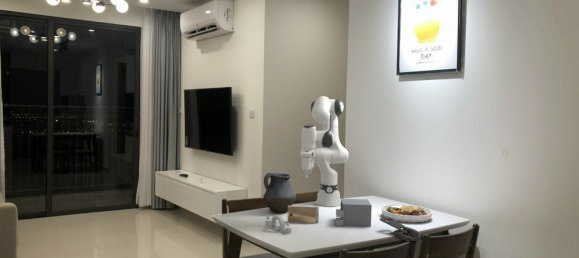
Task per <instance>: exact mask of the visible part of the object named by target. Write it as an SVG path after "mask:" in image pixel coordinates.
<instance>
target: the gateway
mask: <svg viewBox="0 0 579 258" xmlns="http://www.w3.org/2000/svg"><path fill="white" fill-rule="evenodd" d="M265 217H266V220H265V221H264V226H265V227H267V226H268V227H267V228H269V227H270V229H272V228H275V229H274V230H276V229H277V231H279V230H280V231H281V232H280V231H279V232H280V233H283V232H284V234H285V233H287V234H286V235H291V234H292V228H291V227H290V225H291V224H290V222H287V223H286V222H285V219H284V218H283V216H281V215H279V214H278V215H274V216H272V217H270V216H265ZM270 218H271V220H269V219H270ZM277 221H278V223H279V225H277ZM290 233H291V234H290Z"/></svg>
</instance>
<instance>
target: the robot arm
mask: <svg viewBox="0 0 579 258" xmlns="http://www.w3.org/2000/svg"><path fill="white" fill-rule="evenodd" d="M344 107H345V106H344V102H343V101H342V100H341V99H332V98H329V97H328V96H325V95H321V96H319V97H317V99H316V100H313V101H312V102H311V104H310V113H311V117H312V119H313V120H314V122H316V123H318V124H321V130H317V128H316V125H315V124H305V125H302V128H301V137H300V138H301V139H300V140H301V144H300V145H301V146H300V153H299V154H300V158H301V161H300V162H301V169H302V171H303V173H304V178H305V179H308V178H309V177H311V176H312V171H313V168H315V164H316V165H317V167H318V168H319V170H320V184H319V187H320V190H319V191H318V193H316V197H317V199H316V200H315V201H314V205H318V206H322V207H338V206H341V195H340V191H339V190H338V189H339V184H338V172H337V171H336V170H335V169H333V168H332V167H330V165H331V164H334V165H335V164H337V165H338V164H344V163H346V162H348V161H349V157H350V154H349V151H348V150H347V148H345V147H344V146H343V145H342V143H341V141H340V137H339V117H340V116H342V114H343V112H344Z"/></svg>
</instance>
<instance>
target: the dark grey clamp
mask: <svg viewBox="0 0 579 258" xmlns="http://www.w3.org/2000/svg"><path fill="white" fill-rule="evenodd" d="M379 221H381V222H382V223H384V224H387V225H389V226H391V227H392V228H394V229H395V230H393V236H394V237H396V238H399V239H401V240H403V241H406V242H409V240H412V239H414V240H416V242H419V241H421V239H422V237H421V236H422V235H420V234H419V232H418V231H417V229H414V228H412V227H409V226H405V225H404V224H402V222H398V221H396V220H394V219H392V218H391V217H385V216H384V217H381V218H379Z"/></svg>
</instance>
